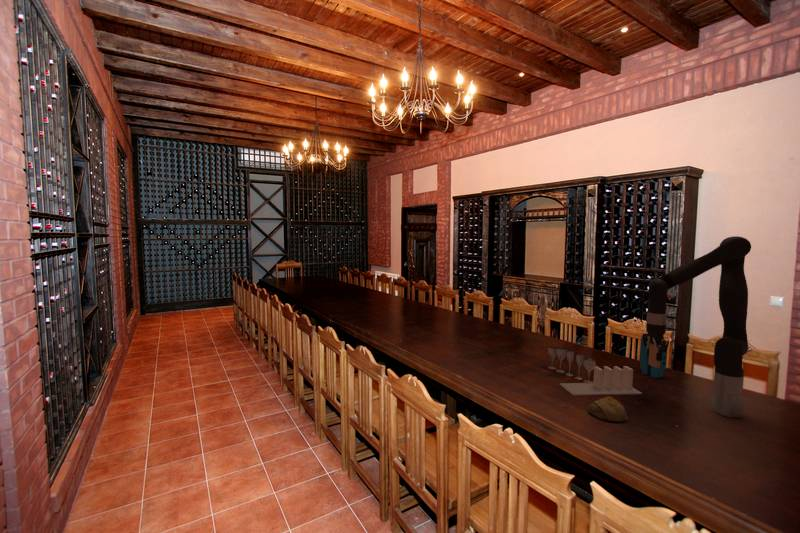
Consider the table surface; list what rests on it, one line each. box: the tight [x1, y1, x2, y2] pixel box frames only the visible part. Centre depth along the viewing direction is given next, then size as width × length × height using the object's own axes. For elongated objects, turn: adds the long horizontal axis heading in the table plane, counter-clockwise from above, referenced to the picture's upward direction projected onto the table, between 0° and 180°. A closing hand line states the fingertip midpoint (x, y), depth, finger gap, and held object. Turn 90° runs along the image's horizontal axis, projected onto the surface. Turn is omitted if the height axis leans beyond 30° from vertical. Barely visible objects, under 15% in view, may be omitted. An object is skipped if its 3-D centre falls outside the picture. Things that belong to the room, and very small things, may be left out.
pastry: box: [587, 395, 628, 423], centre depth 157 cm, size 14×12×8 cm
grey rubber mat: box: [559, 382, 643, 397], centre depth 184 cm, size 13×34×1 cm, turn 94°
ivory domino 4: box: [622, 365, 634, 390], centre depth 184 cm, size 5×2×10 cm, turn 4°
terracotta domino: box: [648, 344, 660, 368], centre depth 173 cm, size 5×2×10 cm, turn 4°
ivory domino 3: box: [612, 365, 623, 390], centre depth 184 cm, size 5×2×10 cm, turn 4°
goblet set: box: [547, 346, 597, 383], centre depth 202 cm, size 28×6×13 cm, turn 28°
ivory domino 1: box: [592, 366, 604, 390], centre depth 183 cm, size 5×2×10 cm, turn 4°
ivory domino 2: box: [603, 365, 614, 390], centre depth 184 cm, size 5×2×10 cm, turn 4°
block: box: [639, 335, 668, 379], centre depth 202 cm, size 12×5×20 cm, turn 21°
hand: (654, 358), depth 173 cm, fingers closed on terracotta domino, 5 cm apart
